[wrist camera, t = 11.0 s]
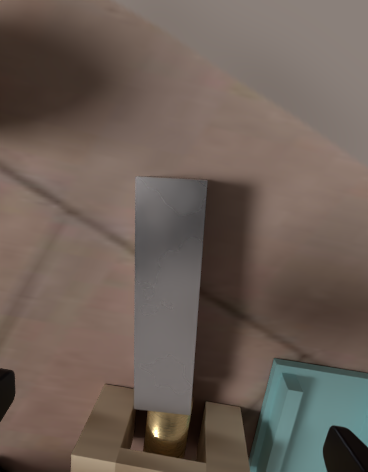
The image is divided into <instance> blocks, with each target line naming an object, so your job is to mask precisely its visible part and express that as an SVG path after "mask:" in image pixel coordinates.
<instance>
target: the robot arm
mask: <svg viewBox="0 0 368 472" xmlns="http://www.w3.org/2000/svg"><path fill="white" fill-rule="evenodd" d="M14 397H15V374H14V372H13V371H12V370H8V369H2V368H0V422H1V420H2V418H3V417H4V415H5V413H6V412H7V410H8V409H9V407H10V405H11V404H12V402H13V400H14ZM323 458H324V462H325V466H326V470H327V472H368V447H367V446H366V445H365V444H364V443H363V442H362V441H361V440H360V439H359V438H358V437H357V436H356V435H355V434H354V433H353V432H352V431H351V430H349V429H348V428H346V427H341V426H335V425H332V426H331V427H330V428H329V430H328V433H327V436H326V439H325V442H324V445H323ZM0 472H3V471H2V470H1V469H0Z"/></svg>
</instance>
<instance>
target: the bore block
mask: <svg viewBox="0 0 368 472" xmlns="http://www.w3.org/2000/svg"><path fill="white" fill-rule="evenodd" d="M135 415H136V409H134V389H131V388H125V387H119V386H113V385H107V384H105V385H104V387H103V389H102V391H101V393H100V395H99V397H98V399H97V402H96V404H95V406H94V408H93V410H92V412H91V414H90V416H89V418H88V420H87V423H86V425H85V427H84V429H83V431H82V433H81V435H80V437H79V439H78V442H77V444H76V446H75V448H74V450H73V452H72V454H71V472H250V467H249V460H248V454H247V447H246V441H245V435H244V428H243V422H242V415H241V409H240V407H236V406H230V405H224V404H219V403H213V402H207V401H206V403H205V408H204V414H203V419H202V425H201V430H200V436H199V441H198V447H197V462H196V461H190V460H185V459H179V458H174V457H168V456H163V455H157V454H152V453H147V452H141V451H136V450H130V448H131V444H132V440H133V435H134V425H135Z"/></svg>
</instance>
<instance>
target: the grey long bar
mask: <svg viewBox="0 0 368 472" xmlns="http://www.w3.org/2000/svg"><path fill="white" fill-rule="evenodd" d="M206 194H207V179H190V178H172V177H154V176H138V177H136V188H135V328H134V409H138V410H147V411H156V412H165V413H174V414H183V415H191V401H192V387H193V373H194V359H195V346H196V332H197V318H198V304H199V291H200V277H201V263H202V249H203V235H204V222H205V208H206Z"/></svg>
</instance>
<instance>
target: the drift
mask: <svg viewBox="0 0 368 472" xmlns="http://www.w3.org/2000/svg"><path fill="white" fill-rule="evenodd" d="M192 405H193V394H192V401H191V411H192ZM190 417H191V415H183V414H174V413H165V412H156V411H148V413H147V422H146V431H145V439H144V448H143V452H147V453H152V454H157V455H163V456H168V457H174V458H179V459H184V453H185V447H186V441H187V435H188V429H189V423H190Z"/></svg>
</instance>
